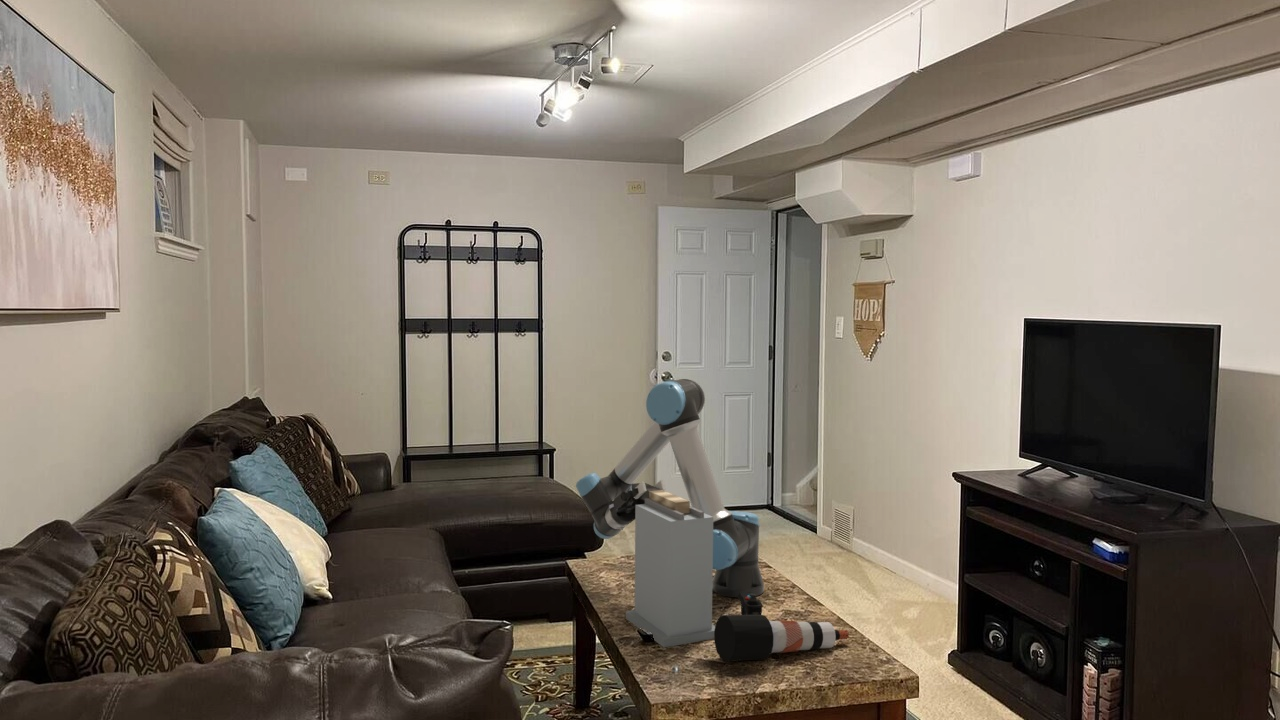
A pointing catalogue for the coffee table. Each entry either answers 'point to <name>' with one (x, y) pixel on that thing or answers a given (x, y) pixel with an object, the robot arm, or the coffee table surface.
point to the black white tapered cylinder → (769, 636)
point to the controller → (750, 603)
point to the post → (673, 574)
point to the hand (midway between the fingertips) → (653, 485)
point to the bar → (665, 498)
